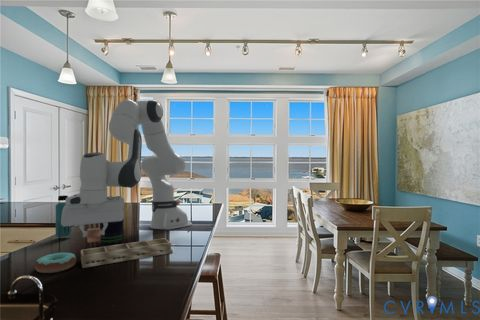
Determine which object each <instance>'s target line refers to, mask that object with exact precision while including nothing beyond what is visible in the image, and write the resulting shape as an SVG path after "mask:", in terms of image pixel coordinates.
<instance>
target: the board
mask: <svg viewBox="0 0 480 320" xmlns="http://www.w3.org/2000/svg"><path fill="white" fill-rule="evenodd" d="M167 254H173V249H172V242H171V241H170V240H168V239H167V238H166V237H165V238H164V237H163V238H157V239H156V238H155V239H149V240H148V239H147V240H141V241H135V242H127V243H123V244H119V245H112V246H104V247H101V246H99V247H97V246H96V247H92V248H86V249H80V262H81V263H80V264H81V267H82V269H85V268H90V267H96V266H103V265H108V264H113V263H120V262H125V261H132V260H139V259H143V258H150V257H154V256H155V257H156V256H160V255H167Z"/></svg>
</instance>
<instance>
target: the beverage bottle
mask: <svg viewBox="0 0 480 320" xmlns="http://www.w3.org/2000/svg"><path fill="white" fill-rule="evenodd" d="M67 197H69V195H58V196H57V201H61V202H58V203H56V205H55V231H54V232H55V234H54V235H55V236H56V238H57V237H58V238H62V237H63V238H64V237H69V236H71V235H72V226H65V227H64V226H62V225H61V217H62V211H63V208H64V206H65V205H66V202H65V200H66V198H67ZM63 201H64V202H63Z"/></svg>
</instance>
